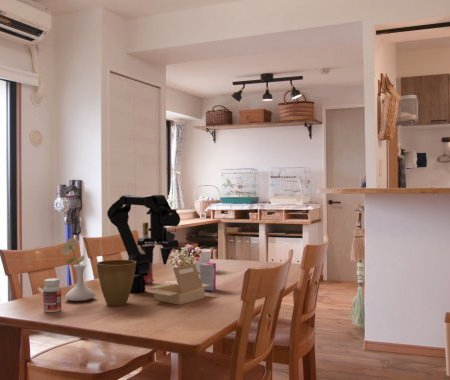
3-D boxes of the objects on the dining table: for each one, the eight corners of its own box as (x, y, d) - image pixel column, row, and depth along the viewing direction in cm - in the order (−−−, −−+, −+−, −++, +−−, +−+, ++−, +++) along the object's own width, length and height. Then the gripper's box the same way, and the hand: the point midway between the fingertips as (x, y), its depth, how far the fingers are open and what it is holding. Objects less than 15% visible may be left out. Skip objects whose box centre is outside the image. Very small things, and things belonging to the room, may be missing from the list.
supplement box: (213, 291, 216) (212, 264, 216) (199, 291, 217) (199, 264, 217) (216, 289, 222) (215, 262, 222) (202, 288, 223) (202, 262, 223)
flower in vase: (86, 295, 211) (85, 235, 211) (100, 299, 203) (99, 236, 203) (56, 300, 202) (55, 237, 202) (70, 305, 194) (69, 239, 194)
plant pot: (125, 309, 187) (124, 265, 187) (89, 307, 191) (88, 264, 191) (143, 300, 201) (143, 259, 201) (109, 298, 205) (109, 258, 205)
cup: (190, 269, 273) (190, 248, 273) (213, 269, 272) (213, 249, 272) (185, 273, 261) (185, 251, 261) (209, 273, 259) (209, 252, 259)
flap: (180, 291, 194) (172, 268, 197) (201, 286, 204) (193, 264, 206) (181, 291, 194) (173, 267, 196) (202, 286, 203) (194, 263, 206)
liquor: (135, 283, 237) (134, 222, 236) (149, 281, 241) (148, 221, 241) (142, 285, 231) (141, 223, 231) (157, 283, 235) (156, 222, 235)
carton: (136, 300, 201) (135, 289, 201) (178, 290, 220) (178, 280, 220) (171, 307, 189) (170, 295, 189) (212, 295, 208) (212, 285, 208)
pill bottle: (60, 312, 184) (60, 280, 184) (42, 313, 183) (42, 281, 183) (62, 308, 190) (61, 277, 190) (44, 309, 189) (44, 278, 189)
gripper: (187, 225, 211) (188, 263, 211) (155, 223, 222) (156, 259, 222) (168, 227, 202) (169, 266, 202) (136, 225, 213) (136, 262, 213)
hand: (157, 263), depth 210 cm, fingers open, 8 cm apart
